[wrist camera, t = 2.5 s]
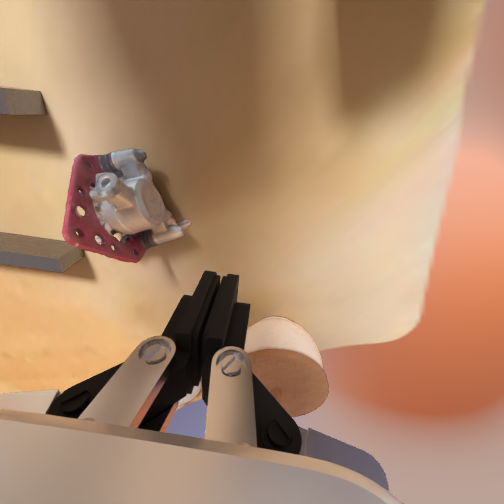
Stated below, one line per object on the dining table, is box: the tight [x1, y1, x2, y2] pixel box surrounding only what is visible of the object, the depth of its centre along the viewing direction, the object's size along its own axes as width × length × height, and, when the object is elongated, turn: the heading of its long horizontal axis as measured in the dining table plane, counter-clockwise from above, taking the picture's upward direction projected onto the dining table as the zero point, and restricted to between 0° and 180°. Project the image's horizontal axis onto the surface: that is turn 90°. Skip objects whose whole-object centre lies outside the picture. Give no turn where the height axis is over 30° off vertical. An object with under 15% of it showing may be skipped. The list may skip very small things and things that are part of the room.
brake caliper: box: [62, 149, 191, 263], centre depth 25 cm, size 11×11×12 cm
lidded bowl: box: [244, 316, 329, 417], centre depth 33 cm, size 13×13×11 cm
